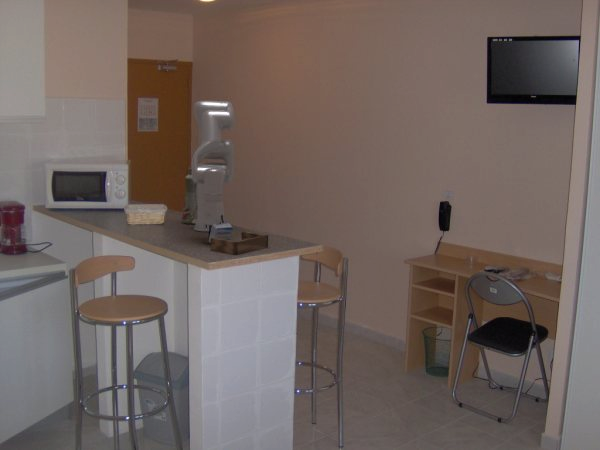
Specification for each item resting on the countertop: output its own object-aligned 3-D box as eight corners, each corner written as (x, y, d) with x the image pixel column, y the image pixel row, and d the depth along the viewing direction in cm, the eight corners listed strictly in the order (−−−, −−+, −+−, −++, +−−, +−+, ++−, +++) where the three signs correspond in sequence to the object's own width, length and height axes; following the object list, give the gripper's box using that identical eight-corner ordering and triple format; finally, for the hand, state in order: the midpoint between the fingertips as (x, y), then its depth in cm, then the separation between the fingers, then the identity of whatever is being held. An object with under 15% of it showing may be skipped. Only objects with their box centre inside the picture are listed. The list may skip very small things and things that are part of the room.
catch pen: (210, 250, 289) (210, 238, 289) (243, 242, 307) (243, 231, 306) (235, 254, 282) (236, 242, 281) (267, 247, 300) (268, 235, 299)
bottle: (196, 225, 347) (196, 167, 342) (178, 224, 348) (179, 166, 344) (202, 222, 355) (202, 166, 350) (185, 221, 357) (185, 165, 352)
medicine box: (212, 246, 297) (216, 228, 293) (208, 241, 300) (211, 223, 296) (229, 245, 301) (233, 227, 297) (224, 239, 304) (228, 222, 300)
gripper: (193, 196, 300) (193, 239, 303) (220, 200, 292) (219, 244, 295) (205, 195, 306) (205, 237, 309) (232, 199, 298) (231, 242, 301)
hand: (212, 240), depth 302 cm, fingers closed
